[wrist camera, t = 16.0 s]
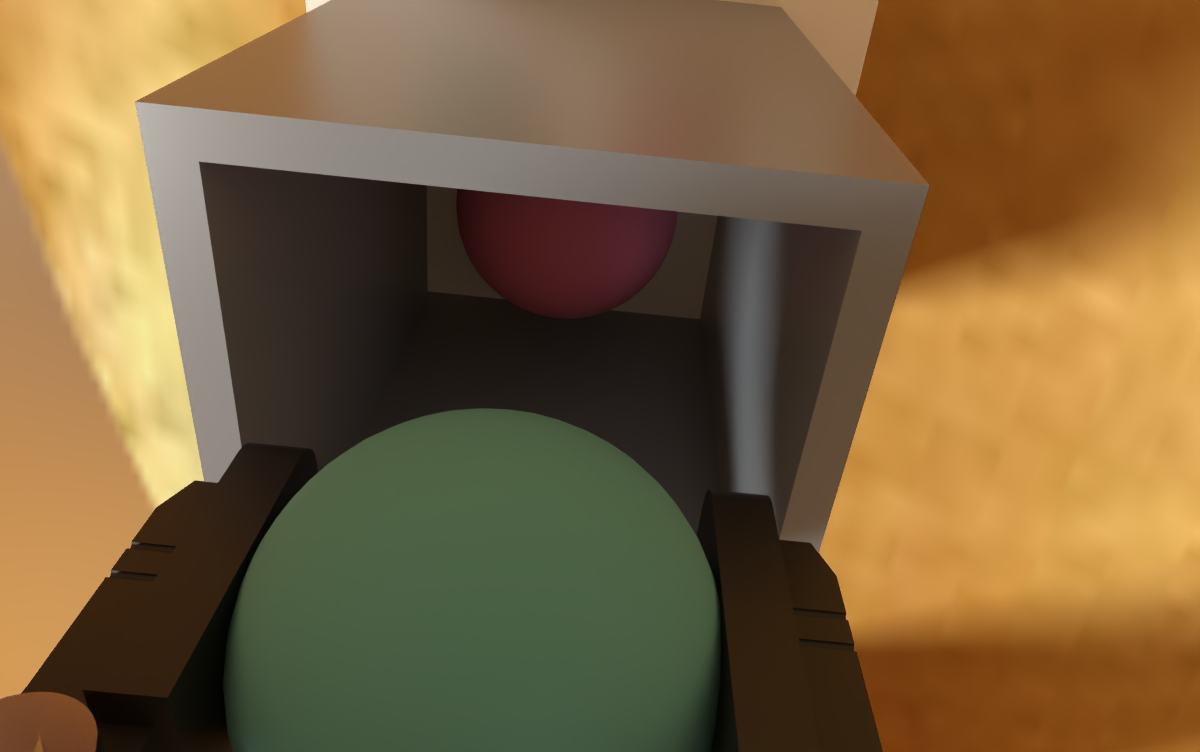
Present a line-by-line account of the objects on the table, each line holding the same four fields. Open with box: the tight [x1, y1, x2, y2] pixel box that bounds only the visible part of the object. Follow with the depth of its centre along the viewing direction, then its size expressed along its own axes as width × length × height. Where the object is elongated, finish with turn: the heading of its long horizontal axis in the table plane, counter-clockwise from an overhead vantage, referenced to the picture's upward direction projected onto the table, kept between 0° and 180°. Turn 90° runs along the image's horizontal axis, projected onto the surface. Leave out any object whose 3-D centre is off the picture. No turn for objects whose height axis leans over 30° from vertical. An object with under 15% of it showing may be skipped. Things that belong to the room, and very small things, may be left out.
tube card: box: [135, 0, 930, 553], centre depth 15 cm, size 13×16×12 cm
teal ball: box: [223, 408, 721, 752], centre depth 9 cm, size 5×5×5 cm
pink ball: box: [456, 189, 677, 319], centre depth 20 cm, size 5×5×5 cm
